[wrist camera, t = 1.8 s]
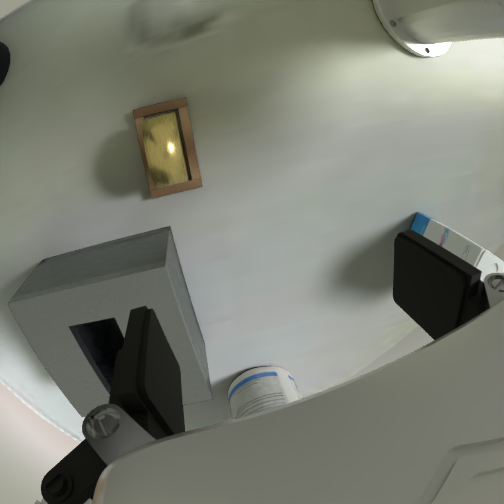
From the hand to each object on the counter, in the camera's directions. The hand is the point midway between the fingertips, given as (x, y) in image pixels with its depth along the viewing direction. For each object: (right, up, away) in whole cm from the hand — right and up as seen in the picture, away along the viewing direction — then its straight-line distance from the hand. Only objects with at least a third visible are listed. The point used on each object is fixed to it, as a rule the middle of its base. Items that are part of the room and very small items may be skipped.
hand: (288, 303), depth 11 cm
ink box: (+22, +4, +26) cm, 35 cm away
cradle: (-9, +11, +16) cm, 21 cm away
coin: (-9, +11, +16) cm, 21 cm away
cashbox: (-15, -4, +21) cm, 26 cm away
